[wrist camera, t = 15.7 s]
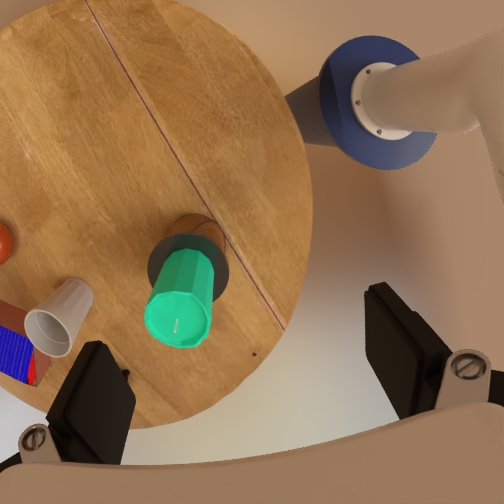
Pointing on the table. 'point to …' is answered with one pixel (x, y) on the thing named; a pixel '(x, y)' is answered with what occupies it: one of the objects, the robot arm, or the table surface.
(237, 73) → the table surface
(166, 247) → the jar
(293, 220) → the table surface
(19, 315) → the house
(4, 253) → the tomato
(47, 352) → the cup
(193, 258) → the candle
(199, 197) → the table surface
